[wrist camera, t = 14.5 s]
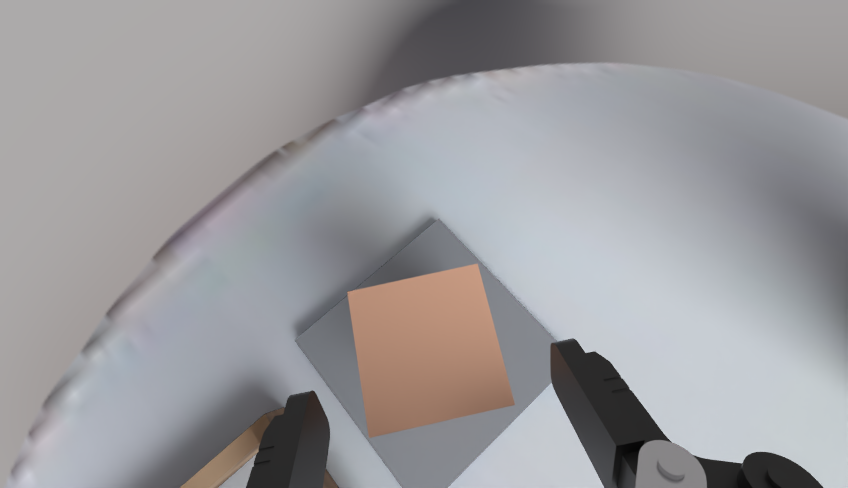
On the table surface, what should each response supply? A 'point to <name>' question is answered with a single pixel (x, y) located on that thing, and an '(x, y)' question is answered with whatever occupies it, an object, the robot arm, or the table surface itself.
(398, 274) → the slate mat
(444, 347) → the terracotta block
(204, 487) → the walnut cradle
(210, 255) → the table surface
